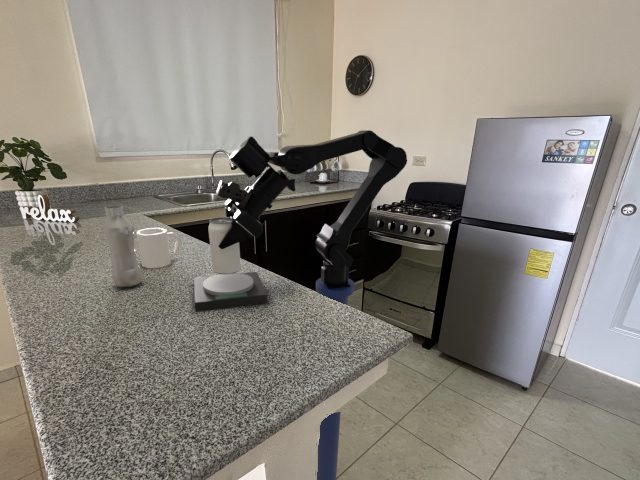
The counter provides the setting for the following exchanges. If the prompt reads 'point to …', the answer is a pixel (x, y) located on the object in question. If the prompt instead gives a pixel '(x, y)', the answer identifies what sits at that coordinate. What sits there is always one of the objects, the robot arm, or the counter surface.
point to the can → (227, 257)
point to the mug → (156, 247)
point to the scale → (228, 291)
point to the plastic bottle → (121, 247)
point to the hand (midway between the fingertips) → (218, 243)
